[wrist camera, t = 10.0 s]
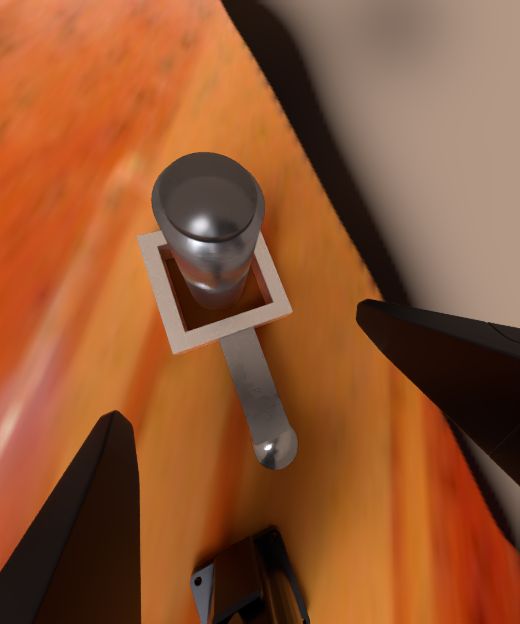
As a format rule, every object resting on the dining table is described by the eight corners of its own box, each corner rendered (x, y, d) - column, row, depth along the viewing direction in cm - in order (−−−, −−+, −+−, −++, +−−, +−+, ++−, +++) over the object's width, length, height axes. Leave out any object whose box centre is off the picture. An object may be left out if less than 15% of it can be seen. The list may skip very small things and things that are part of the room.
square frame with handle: (329, 430, 19) (344, 440, 17) (220, 484, 17) (220, 505, 15) (248, 225, 22) (251, 208, 19) (146, 251, 20) (136, 236, 17)
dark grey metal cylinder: (250, 301, 20) (283, 229, 9) (199, 318, 19) (168, 260, 8) (233, 255, 21) (244, 136, 10) (183, 269, 20) (133, 154, 9)
